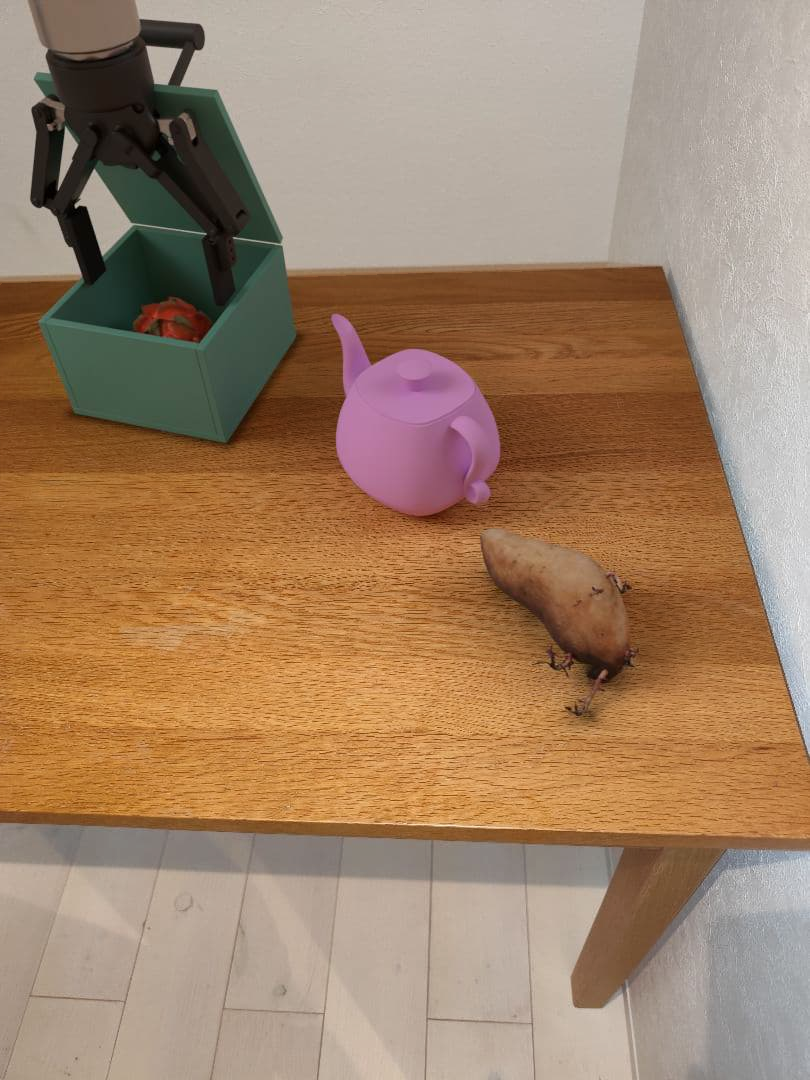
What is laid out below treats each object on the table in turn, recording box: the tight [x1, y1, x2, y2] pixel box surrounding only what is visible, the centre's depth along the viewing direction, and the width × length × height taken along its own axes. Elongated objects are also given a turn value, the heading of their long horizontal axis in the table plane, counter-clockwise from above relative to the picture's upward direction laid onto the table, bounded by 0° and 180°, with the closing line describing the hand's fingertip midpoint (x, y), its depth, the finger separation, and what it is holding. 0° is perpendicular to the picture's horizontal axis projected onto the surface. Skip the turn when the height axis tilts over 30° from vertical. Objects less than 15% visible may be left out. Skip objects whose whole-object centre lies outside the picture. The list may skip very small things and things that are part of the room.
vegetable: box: [479, 527, 640, 717], centre depth 66 cm, size 16×11×10 cm
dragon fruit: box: [131, 297, 213, 344], centre depth 87 cm, size 8×8×12 cm
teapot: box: [331, 313, 501, 517], centre depth 77 cm, size 20×13×12 cm, turn 41°
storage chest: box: [37, 224, 297, 444], centre depth 88 cm, size 18×17×11 cm
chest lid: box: [33, 18, 284, 245], centre depth 82 cm, size 18×17×9 cm
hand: (159, 287), depth 83 cm, fingers open, 13 cm apart
